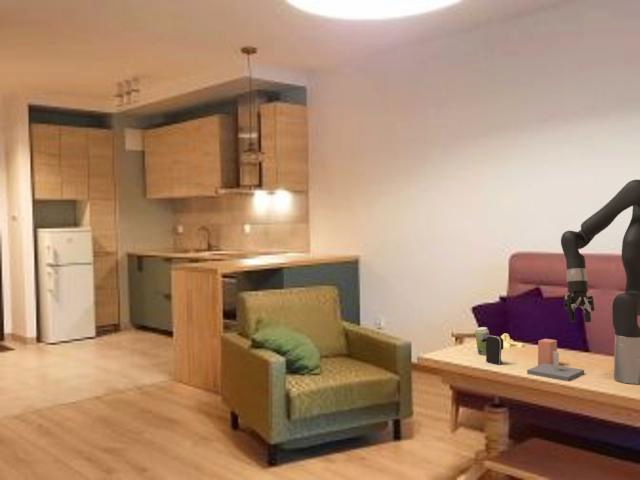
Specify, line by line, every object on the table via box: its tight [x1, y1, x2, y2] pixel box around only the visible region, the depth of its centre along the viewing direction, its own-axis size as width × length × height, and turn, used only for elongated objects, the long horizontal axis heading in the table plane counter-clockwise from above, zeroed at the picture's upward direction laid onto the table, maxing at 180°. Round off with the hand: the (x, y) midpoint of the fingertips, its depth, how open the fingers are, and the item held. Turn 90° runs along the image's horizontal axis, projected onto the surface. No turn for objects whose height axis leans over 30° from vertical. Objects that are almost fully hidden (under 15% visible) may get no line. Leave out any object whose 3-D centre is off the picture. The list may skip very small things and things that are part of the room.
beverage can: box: [474, 326, 491, 356], centre depth 279 cm, size 6×7×12 cm
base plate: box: [526, 363, 585, 382], centre depth 244 cm, size 16×16×2 cm
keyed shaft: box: [553, 351, 560, 371], centre depth 244 cm, size 2×4×7 cm, turn 167°
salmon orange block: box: [537, 338, 558, 366], centre depth 260 cm, size 5×7×10 cm
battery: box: [485, 335, 504, 365], centre depth 262 cm, size 7×4×11 cm, turn 35°
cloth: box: [500, 333, 526, 350], centre depth 301 cm, size 22×19×6 cm
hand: (580, 321), depth 244 cm, fingers open, 8 cm apart
